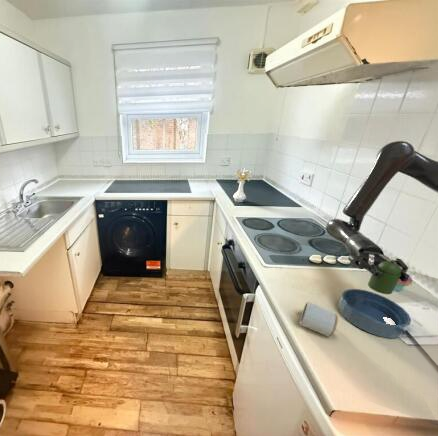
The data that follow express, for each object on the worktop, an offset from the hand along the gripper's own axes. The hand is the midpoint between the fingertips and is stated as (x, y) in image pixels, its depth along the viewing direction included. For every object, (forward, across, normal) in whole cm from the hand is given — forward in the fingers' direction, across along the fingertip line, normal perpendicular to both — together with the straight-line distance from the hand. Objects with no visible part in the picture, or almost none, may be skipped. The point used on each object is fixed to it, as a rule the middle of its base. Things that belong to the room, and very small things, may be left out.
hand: (392, 277), depth 69 cm
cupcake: (-22, +17, +17) cm, 33 cm away
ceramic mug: (+7, -18, +17) cm, 26 cm away
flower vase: (-114, -32, +18) cm, 120 cm away
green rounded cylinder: (-2, 0, +6) cm, 6 cm away
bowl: (-1, 0, +17) cm, 17 cm away
